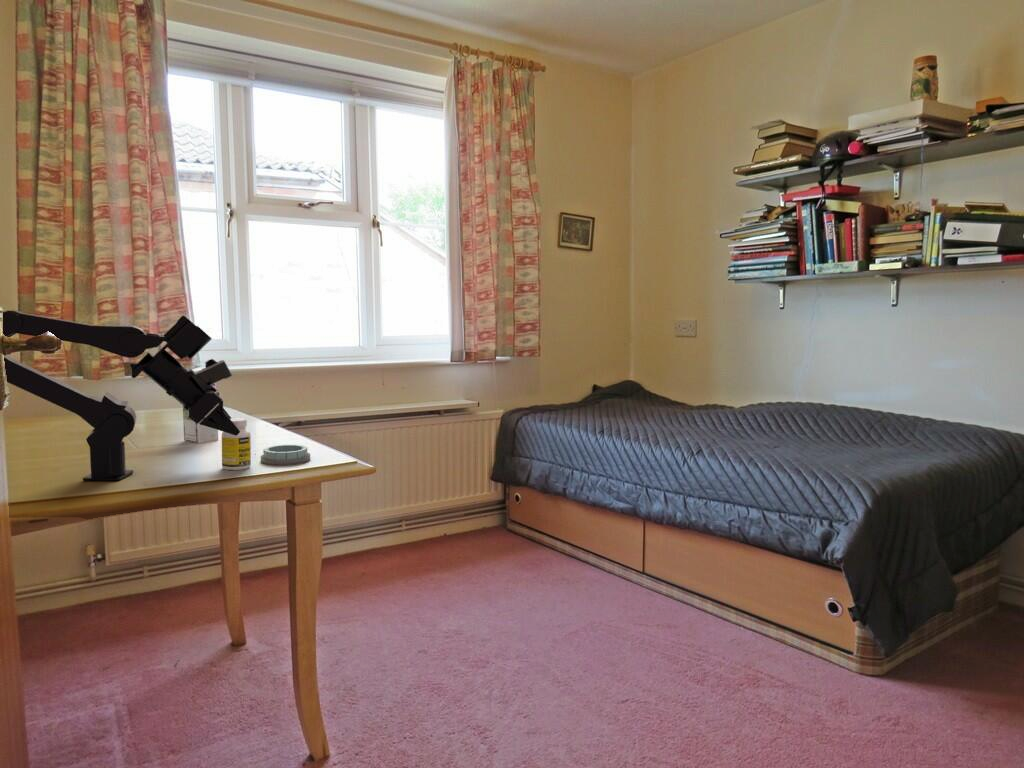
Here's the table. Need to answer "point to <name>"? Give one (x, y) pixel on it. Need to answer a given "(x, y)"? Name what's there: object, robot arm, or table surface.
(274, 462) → the socket plate
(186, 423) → the syrup box
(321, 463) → the table surface
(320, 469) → the table surface
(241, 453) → the supplement bottle
